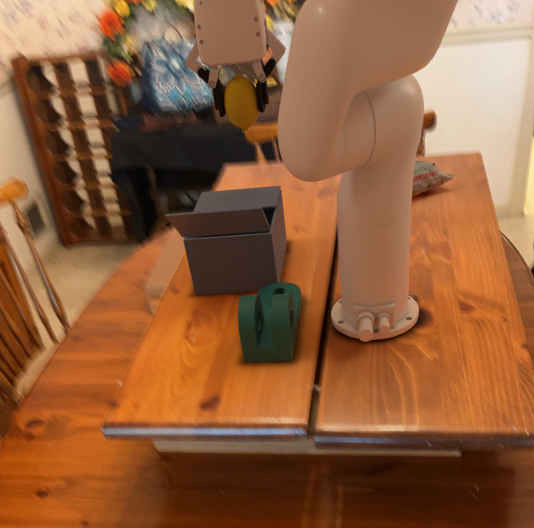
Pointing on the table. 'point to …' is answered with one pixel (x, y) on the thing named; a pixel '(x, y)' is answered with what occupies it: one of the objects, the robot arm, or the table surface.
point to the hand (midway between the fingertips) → (243, 111)
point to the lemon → (241, 101)
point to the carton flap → (219, 222)
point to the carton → (238, 245)
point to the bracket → (270, 322)
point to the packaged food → (427, 177)
